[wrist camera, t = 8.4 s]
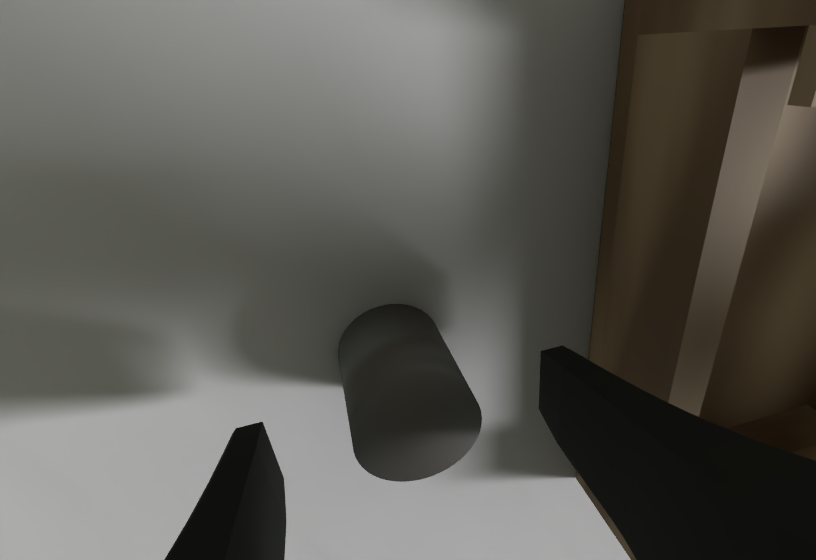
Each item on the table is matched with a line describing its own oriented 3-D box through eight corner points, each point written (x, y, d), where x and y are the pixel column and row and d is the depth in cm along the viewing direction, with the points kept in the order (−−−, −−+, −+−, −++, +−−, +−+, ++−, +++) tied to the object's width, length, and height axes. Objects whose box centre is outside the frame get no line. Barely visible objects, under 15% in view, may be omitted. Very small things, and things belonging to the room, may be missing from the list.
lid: (554, 56, 12) (676, 57, 8) (538, 450, 19) (599, 546, 15) (95, 122, 10) (-17, 162, 6) (271, 529, 17) (265, 658, 13)
